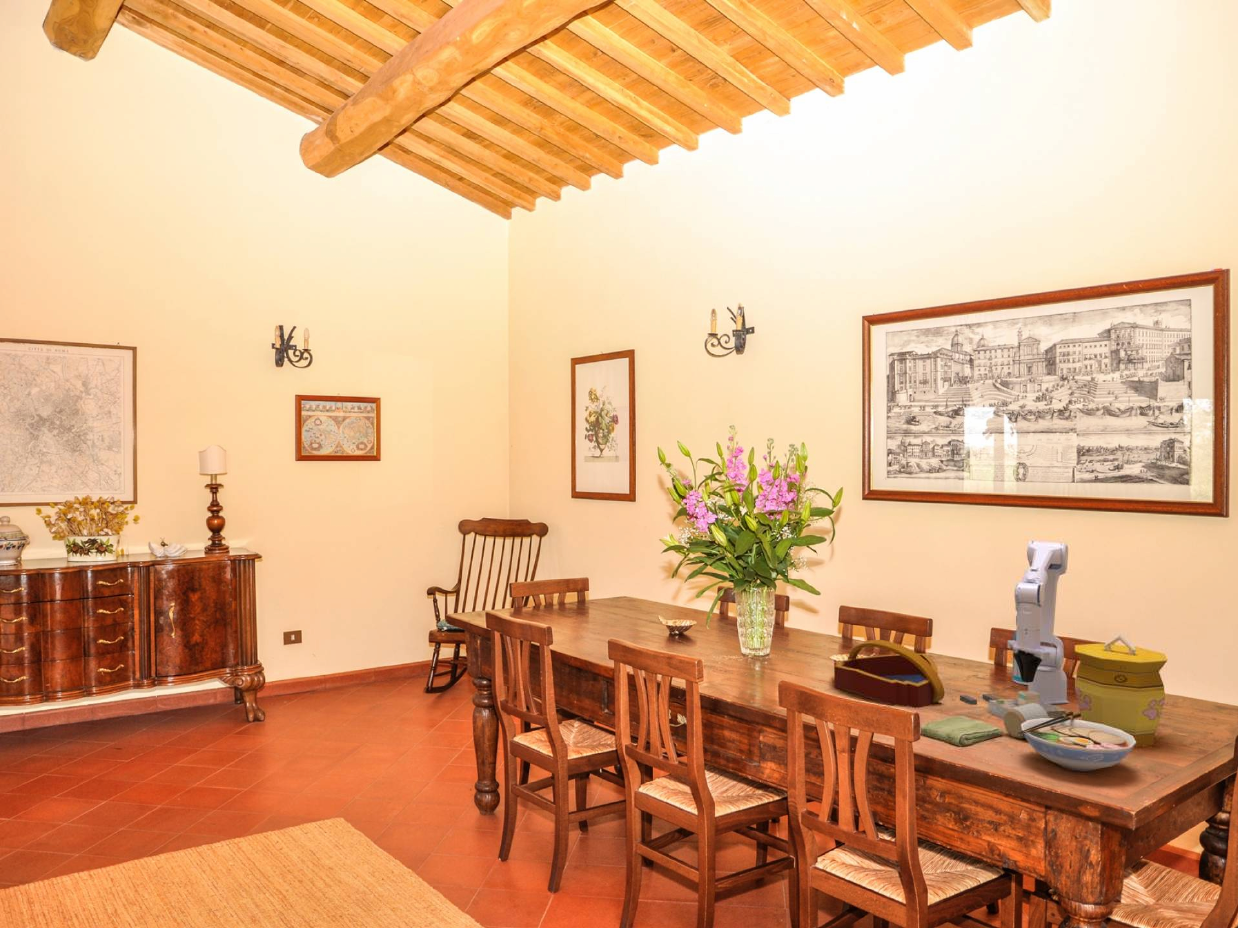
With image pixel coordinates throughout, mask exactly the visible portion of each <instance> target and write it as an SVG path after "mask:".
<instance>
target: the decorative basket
mask: <svg viewBox="0 0 1238 928" xmlns="http://www.w3.org/2000/svg"><path fill="white" fill-rule="evenodd" d="M864 648H878V649H882V650H887V651H889V652H892V653H895V654H885V655H873V656H864V657H863V656H862V657H858V655H859V653H860V652H861V651H862V650H863V649H864ZM833 663H834V664H833V671H834V672H833V673H834V687H835V688H838V689H841V690H845V691H848V692H854V693H857V694H859V695H860V696H861V695H862V696H863V697H867V698H870V699H872V700H876V701H878V702H881V703H885V704H889V705H892V704H893V705H892V706H894V705H899V706H902V707H905V706H906V707H911V706H912V707H911V708H916V707H918V708H917V709H920V708H919V707H921V708H923V707H926V706H928V705H930V704H932V703H937V702H940V701H942V700H943V699H944V697H945V688H944V686H943V683H942V680H941V678H940V676H939V674H938V666H937V664H936V663H935V661H934V660H933V659H932V658H931V657H930V656H929V655H927V654H926V653H917V652H915V651H914V650H911V649H909V648H907V647H906V646H904V645H901V644H898V643H896V642H893V641H889V640H885V639H884V640H883V639H870V640H866V641H863V642H862V643H860V644H858V645H856V646H854V647H853V648H852V649H851V651H850V652H849V655H848V656H847V659H843V660H837V661H834V662H833Z"/></svg>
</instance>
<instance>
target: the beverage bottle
mask: <svg viewBox="0 0 1238 928" xmlns="http://www.w3.org/2000/svg"><path fill="white" fill-rule="evenodd" d="M1015 625H1016V627H1017V615H1016V617H1015ZM1016 634H1017V629H1016V630H1015V632H1014V633H1013V637H1012V639H1013V640H1014V641H1016ZM1040 644H1041V643H1040ZM1041 645H1043V644H1041ZM1017 652H1018V650H1015V649H1013V648H1012V654H1013V653H1017ZM1011 677H1012V678H1011V680H1012V682H1013V683H1016V684H1020V685H1026V686H1028V682H1024V681H1022V679H1021V675H1020V671H1019V667H1018V664H1017V662H1016V660H1015V658H1014V656H1013V655H1012V676H1011Z"/></svg>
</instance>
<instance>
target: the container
mask: <svg viewBox="0 0 1238 928" xmlns="http://www.w3.org/2000/svg"><path fill="white" fill-rule="evenodd" d="M1119 641H1120V642H1122V643H1123V645H1122V644H1121V645H1120V644H1115V643H1117V642H1119ZM1074 653H1075V654H1076V656H1077V657H1078V659H1079V661H1080V662H1079V664H1078V666H1077V669H1076V673H1075V679H1074V688H1075V689H1074V690H1075V694H1076V698H1077V703H1078V704H1077V705H1078V709H1079V711H1078V712H1079V714H1081V717H1080V720H1083V721H1088V722H1093V723H1098V724H1103V725H1106V726H1110V727H1113V728H1116V729H1119V730H1122V731H1124V732H1126V733H1128V734H1130V735H1131V736H1133V737H1134V739H1135V741H1136V744H1135V745H1134V747H1133V748H1137V747H1136V746H1141V747H1144V746H1143V745H1149V746H1154V745H1155V734H1156V732H1157V729H1158V727H1159V724H1160V721H1161V715H1162V713H1163V712H1162V711H1163V708H1164V704H1165V701H1166V692H1165V685H1164V682H1163V680H1162V677H1161V674H1160V673H1161V672H1160V671H1161V670H1162V669H1163V667H1164V666H1165V665H1166V663H1167V662H1168V658H1167V656H1166V654H1165V653H1162V652H1159V651H1155V650H1151V649H1146V648H1142V647H1138V646H1133V645H1132V643H1130V642H1129V641H1128V640H1127V639H1126V638H1125V636H1123V635H1122V634H1121V633H1120V634H1118V635H1117V636H1115V637H1113V638H1112V639H1111V640H1109V641H1108V642H1106V643H1089V644H1088V643H1085V644H1075V645H1074Z"/></svg>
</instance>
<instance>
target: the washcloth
mask: <svg viewBox="0 0 1238 928" xmlns="http://www.w3.org/2000/svg"><path fill="white" fill-rule="evenodd" d="M920 727H921V733H920V734H921V735H922V736H926V737H930V738H933V739H934V740H941V741H944V742H946V743H948V744H951V745H954V746H956V747H965V746H970V745H975V744H978V743H981V742H983V741H987V740H989V739H993V738H997V737H999V736H1001V735H1004V731H1003V730H1002V729H1000V728H999V727H997V726H994V725H991V724H988V723H986V722H984V721H981V720H973V719H971V718H969V717H967V716H965V715H958V716H957V715H956V716H953V715H951V716H949V717H945V718H942V719H940V720H934V721H933V720H932V721H930V722H926V723H925V722H924V724H922V725H921V726H920Z"/></svg>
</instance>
